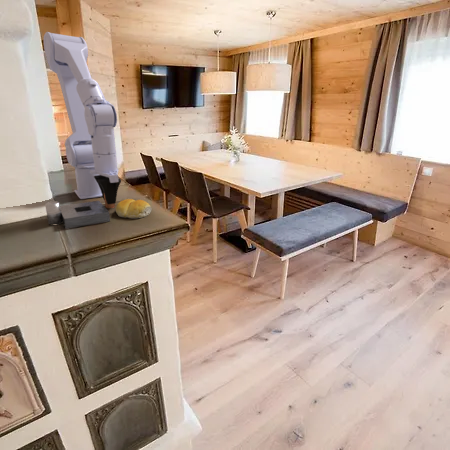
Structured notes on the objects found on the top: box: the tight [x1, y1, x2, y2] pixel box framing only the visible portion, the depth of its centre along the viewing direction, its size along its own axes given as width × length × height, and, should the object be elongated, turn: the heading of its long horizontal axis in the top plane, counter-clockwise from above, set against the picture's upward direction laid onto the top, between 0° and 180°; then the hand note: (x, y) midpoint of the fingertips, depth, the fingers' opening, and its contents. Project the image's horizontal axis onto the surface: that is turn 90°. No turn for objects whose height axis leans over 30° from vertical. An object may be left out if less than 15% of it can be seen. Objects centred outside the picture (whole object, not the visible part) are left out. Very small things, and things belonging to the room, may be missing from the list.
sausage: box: [103, 195, 116, 209], centre depth 85 cm, size 3×3×6 cm
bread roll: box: [115, 198, 152, 220], centre depth 82 cm, size 8×9×4 cm
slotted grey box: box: [44, 200, 111, 230], centre depth 76 cm, size 10×13×5 cm
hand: (109, 201), depth 86 cm, fingers closed on sausage, 3 cm apart
